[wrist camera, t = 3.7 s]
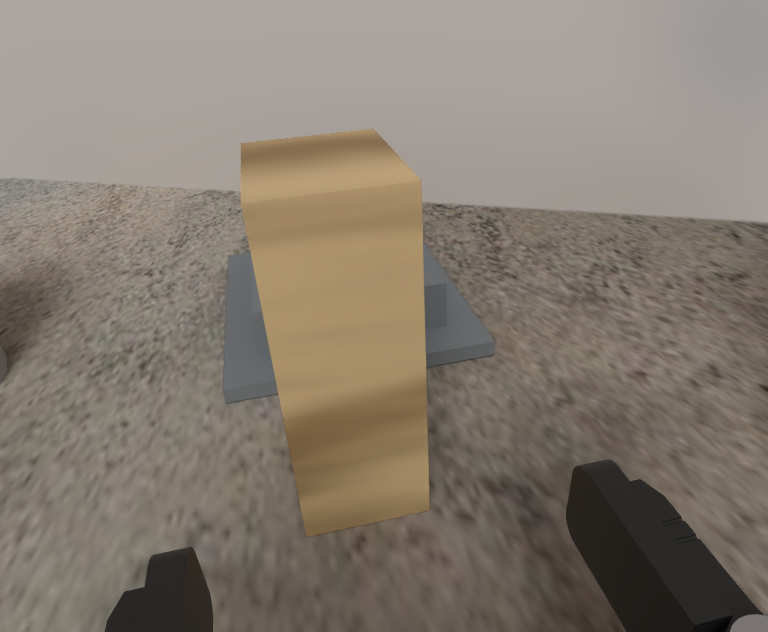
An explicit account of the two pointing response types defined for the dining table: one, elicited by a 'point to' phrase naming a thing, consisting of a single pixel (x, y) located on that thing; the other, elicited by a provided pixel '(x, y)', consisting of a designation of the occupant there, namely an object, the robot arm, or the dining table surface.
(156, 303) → the dining table surface
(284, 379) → the wooden block
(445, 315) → the grey socket base
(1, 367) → the cup
